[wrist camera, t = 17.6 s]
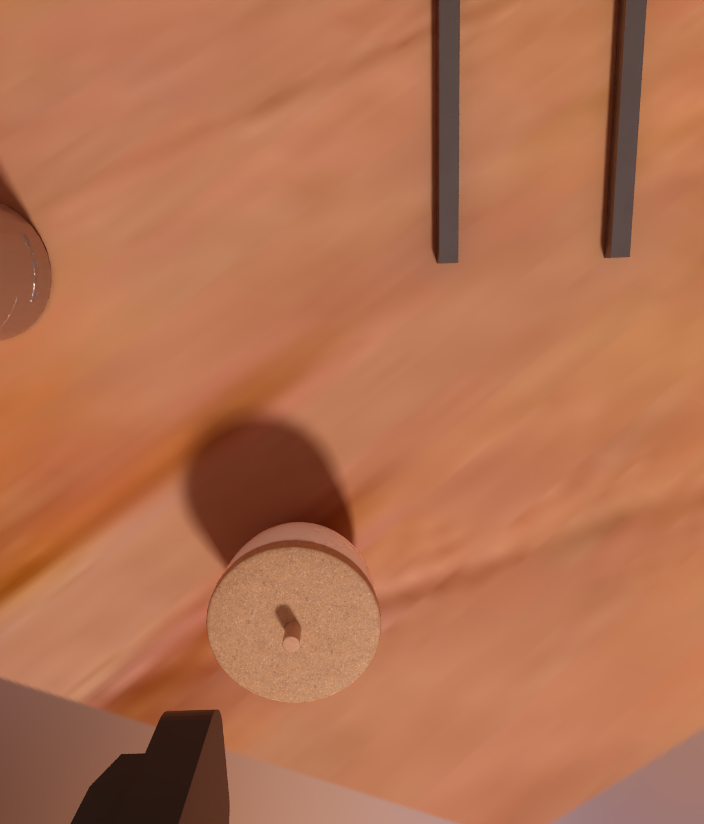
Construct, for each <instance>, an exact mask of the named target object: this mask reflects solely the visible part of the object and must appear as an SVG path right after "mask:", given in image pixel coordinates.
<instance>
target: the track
mask: <svg viewBox="0 0 704 824" xmlns="http://www.w3.org/2000/svg"><path fill="white" fill-rule="evenodd" d="M646 6H647V0H619V15H618V33H617V50H616V67H615V84H614V101H613V119H612V136H611V153H610V170H609V188H608V205H607V222H606V239H605V256H604V258H619V257H630V244H631V230H632V215H633V200H634V185H635V170H636V155H637V140H638V125H639V110H640V95H641V80H642V65H643V50H644V35H645V20H646ZM459 50H460V0H437V263H458V204H459Z"/></svg>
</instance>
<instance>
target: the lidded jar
mask: <svg viewBox="0 0 704 824" xmlns="http://www.w3.org/2000/svg"><path fill="white" fill-rule="evenodd" d="M206 625H207V635H208V639H209V643H210V646H211V649H212V651H213V653H214V655H215V658H216V659H217V661H218V662H219V664H220V665H221V667H222V668H223V669H224V670H225V672H226V673H227V674H228V675H229V676H230V677H231V678H232V679H233V680H235V681H236V682H237V683H238V684H239V685H241V686H242V687H244V688H245V689H247V690H249V691H251V692H253V693H255V694H257V695H259V696H262V697H264V698H267V699H271V700H276V701H282V702H290V703H296V702H308V701H315V700H319V699H322V698H325V697H328V696H331V695H333V694H335V693H337V692H339V691H341V690H343V689H344V688H346V687H347V686H349V685H350V684H352V683H353V682H354V681H355V680H356V679H357V678H358V677H359V676H360V675H362V673H363V672H364V671H365V669H366V668H367V667H368V666H369V664H370V662H371V661H372V659H373V657H374V655H375V653H376V650H377V647H378V644H379V640H380V633H381V614H380V609H379V604H378V599H377V596H376V591H375V586H374V582H373V579H372V577H371V574H370V571H369V569H368V566H367V565H366V563H365V561H364V559H363V558H362V556H361V555H360V553H359V552H358V550H357V549H356V548H355V547H354V546H353V544H351V543H350V542H349V541H348V540H347V539H346V538H345V537H343V536H342V535H340V534H338V533H337V532H335V531H334V530H331V529H329V528H327V527H325V526H322V525H318V524H314V523H307V522H291V523H285V524H280V525H277V526H274V527H271V528H268V529H267V530H265V531H263V532H261V533H259V534H258V535H256V536H255V537H254V538H252V539H251V540H250V541H248V542H247V543H246V544H245V545H244V546H243V547H242V548H241V549H240V550H239V551H238V552H237V554H236V555H235V556H234V558H233V559H232V561H231V562H230V563H229V565H228V566H227V568H226V570H225V572H224V574H223V575H222V577H221V578H220V580H219V581H218V583H217V585H216V587H215V590H214V592H213V594H212V596H211V599H210V602H209V606H208V610H207V621H206Z"/></svg>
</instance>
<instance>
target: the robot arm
mask: <svg viewBox="0 0 704 824" xmlns="http://www.w3.org/2000/svg"><path fill="white" fill-rule="evenodd" d="M50 288H51V267H50V263H49V259H48V255H47V252H46V250H45V247H44V245H43V243H42V241H41V239H40V237H39V236H38V234H37V233H36V232H35V230H34V229H33V227H32V226H31V225H30V224H29V223H28V222H27V221H26V220H25V219H24V218H23V217H22V216H21V215H20V214H19V213H17V212H15V211H14V210H12V209H11V208H9V207H8V206H6V205H4V204H2V203H0V340H2V339H6V338H10V337H13V336H15V335H17V334H19V333H21V332H23V331H25V330H26V329H27V328H28V327H30V326H31V325H32V324H33V323H34V322H35V321H36V320H37V319H38V317H39V316H40V314H41V313H42V312H43V310H44V308H45V305H46V303H47V301H48V298H49V293H50ZM71 824H229V792H228V780H227V770H226V758H225V747H224V736H223V725H222V718H221V714H220V711H219V710H188V711H166V712H165V713H163V715H162V716H161V718H160V720H159V722H158V725H157V727H156V729H155V732H154V734H153V736H152V739H151V741H150V743H149V746H148V748H147V750H146V753H145V754H121V755H120V756H119V757H118V758H117V759H116V760H115V761H114V762H113V764H111V766H110V767H108V768H107V769H106V771H105V772H104V773H103V774H102V775H101V776H100V777H99V778H98V779H97V780H96V781H95V782H94V783H93V784H92V785H91V786H90V787H89V789H88V791H87V793H86V795H85V797H84V799H83V801H82V803H81V805H80V807H79V808H78V810H77V812H76V814H75V816H74V818H73V820H72V822H71Z"/></svg>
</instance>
